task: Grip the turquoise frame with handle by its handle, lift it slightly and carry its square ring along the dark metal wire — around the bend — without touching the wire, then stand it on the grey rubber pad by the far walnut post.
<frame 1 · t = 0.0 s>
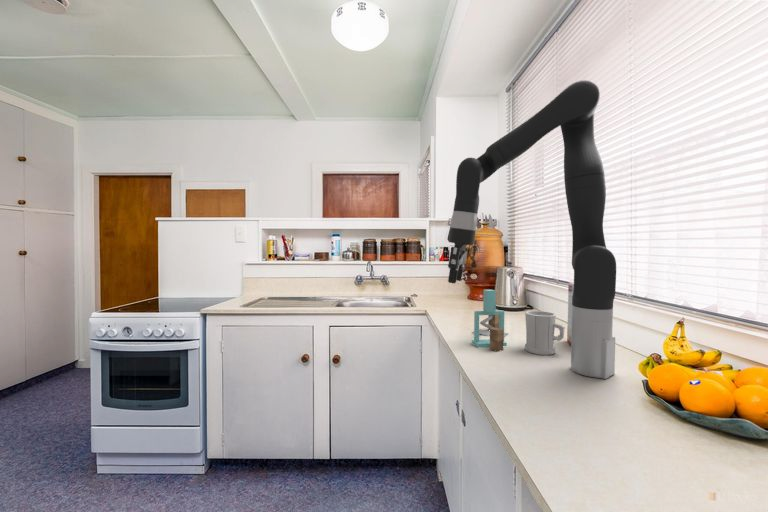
hand: (454, 281, 105), 22 cm above the table, tool pointing down, fingers open, 8 cm apart
turquoise frame with handle: (489, 344, 118), on the table
cup: (542, 351, 111), on the table
wire: (495, 322, 124), point 6 cm above the table
cracker box: (583, 347, 115), on the table
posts: (481, 339, 124), on the table
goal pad: (489, 333, 132), on the table
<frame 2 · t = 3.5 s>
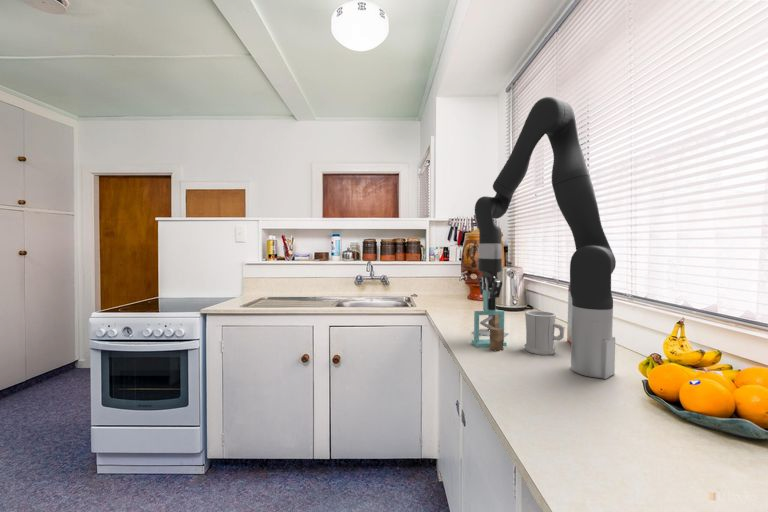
hand: (489, 308, 117), 12 cm above the table, tool pointing down, fingers closed on turquoise frame with handle, 3 cm apart
turquoise frame with handle: (488, 344, 118), on the table, touching gripper
everything else where it was.
when the fingers open (13 cm above the table, at t = 8.9 s): turquoise frame with handle stays where it is, resting on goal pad.
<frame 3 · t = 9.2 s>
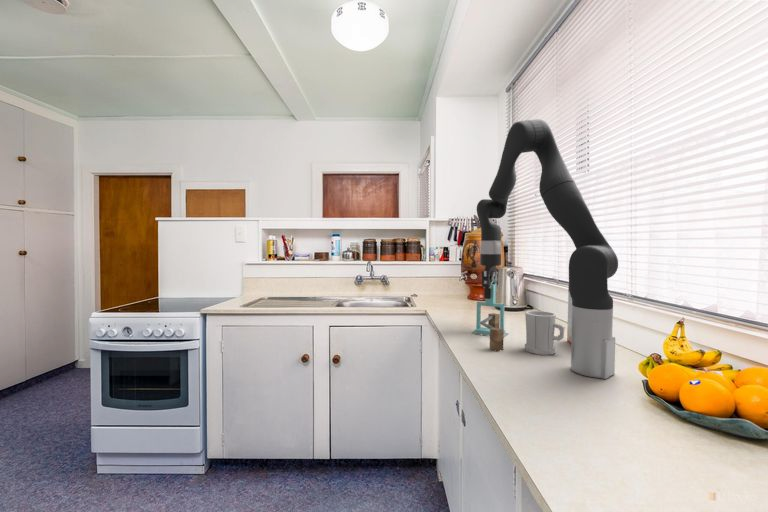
hand: (490, 297, 132), 14 cm above the table, tool pointing down, fingers open, 6 cm apart
turquoise frame with handle: (490, 333, 132), resting on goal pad
everything else where it was.
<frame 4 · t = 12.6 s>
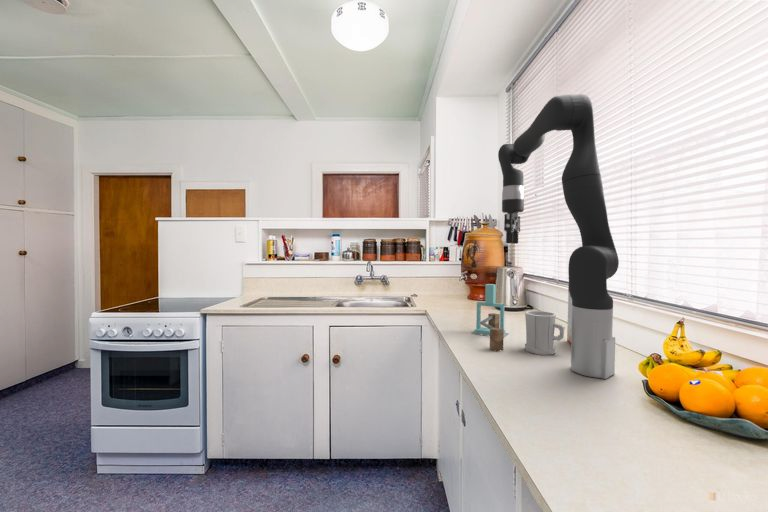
hand: (512, 243, 129), 34 cm above the table, tool pointing down, fingers open, 8 cm apart
nothing on the table moved.
at the end: turquoise frame with handle inside the target area (0.1 cm from its centre), resting on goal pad; turquoise frame with handle tilted 0°; turquoise frame with handle touching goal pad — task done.
